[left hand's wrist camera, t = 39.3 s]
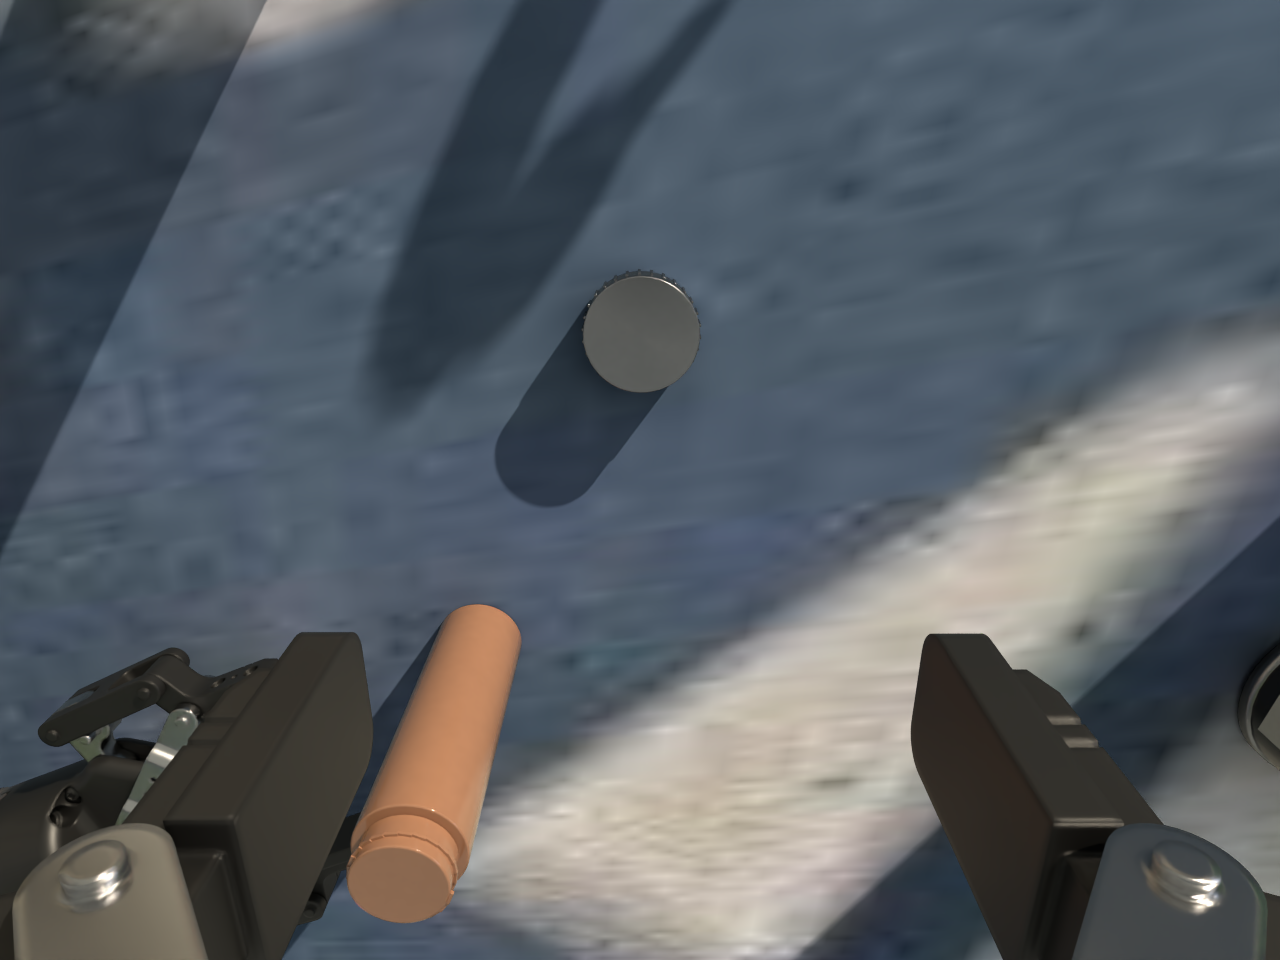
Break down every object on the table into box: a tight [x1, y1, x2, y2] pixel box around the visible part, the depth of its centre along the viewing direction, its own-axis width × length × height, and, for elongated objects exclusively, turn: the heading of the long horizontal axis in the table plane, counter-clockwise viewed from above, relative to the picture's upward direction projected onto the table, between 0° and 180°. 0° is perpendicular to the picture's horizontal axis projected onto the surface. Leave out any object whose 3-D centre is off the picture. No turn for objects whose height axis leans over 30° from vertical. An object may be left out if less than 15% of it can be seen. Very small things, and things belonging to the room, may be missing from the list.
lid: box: [582, 269, 701, 393], centre depth 35 cm, size 5×5×2 cm
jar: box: [346, 604, 521, 923], centre depth 35 cm, size 4×4×15 cm
